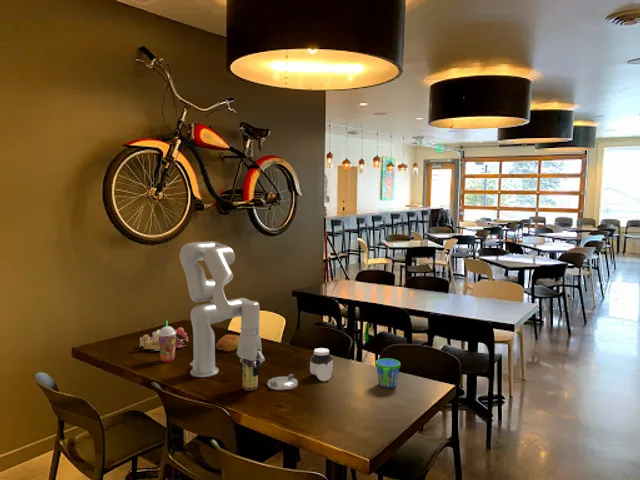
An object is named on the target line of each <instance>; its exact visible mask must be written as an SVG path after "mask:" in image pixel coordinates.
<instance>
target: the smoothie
mask: <svg viewBox="0 0 640 480" xmlns="http://www.w3.org/2000/svg"><path fill="white" fill-rule="evenodd" d="M168 321H169V320H166V321H165V322H166V325H165V326H163V327H162V328H160V329H159V330H160V332H159V333H158V336H159V348H160V352H159V357H160V360H161V362H162V363H172V362H173V361H174V360H175V357H176V349H175V341H176V337H177V334H176V332H175V330H176V329H174V328H173V326H169V324H168V323H169V322H168ZM171 361H172V362H171Z"/></svg>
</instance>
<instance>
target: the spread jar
mask: <svg viewBox="0 0 640 480" xmlns="http://www.w3.org/2000/svg"><path fill="white" fill-rule="evenodd" d="M333 368H334V365H333V357H332V355H331V354H330V350H329V349H328V348H324V347H319V348H314V350H313V355H312V356H311V358H310V361H309V371H310V374H311V375H312V376H313V377H315V378H316V379H318V380H319V381H321V382H327V381H329V380H330V379H331V377H332V375H333V370H334V369H333Z"/></svg>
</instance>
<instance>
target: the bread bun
mask: <svg viewBox="0 0 640 480" xmlns="http://www.w3.org/2000/svg"><path fill="white" fill-rule="evenodd" d="M239 336H240V335H237V334H231V333H229V334H224V336H222V337H221V338H220V339H219V340H218V341H217V342H216V344H215V349H217V350H218V349H219V350H218V351H220V350H224V351H223V352H225V351H227V352H230V351H233V350H238V341H239ZM233 352H234V351H233Z"/></svg>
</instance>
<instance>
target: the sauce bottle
mask: <svg viewBox="0 0 640 480" xmlns="http://www.w3.org/2000/svg"><path fill="white" fill-rule="evenodd" d="M256 363H257V360H256ZM253 367H254V364H253V361H250V360H247V359H243V373H242V389H243V390H245V391H249V392H250V391H255V390H257V389H258V383H259V381H258V380H259V378H258V376H259V375H257V376H255V377H254V376H253Z"/></svg>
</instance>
